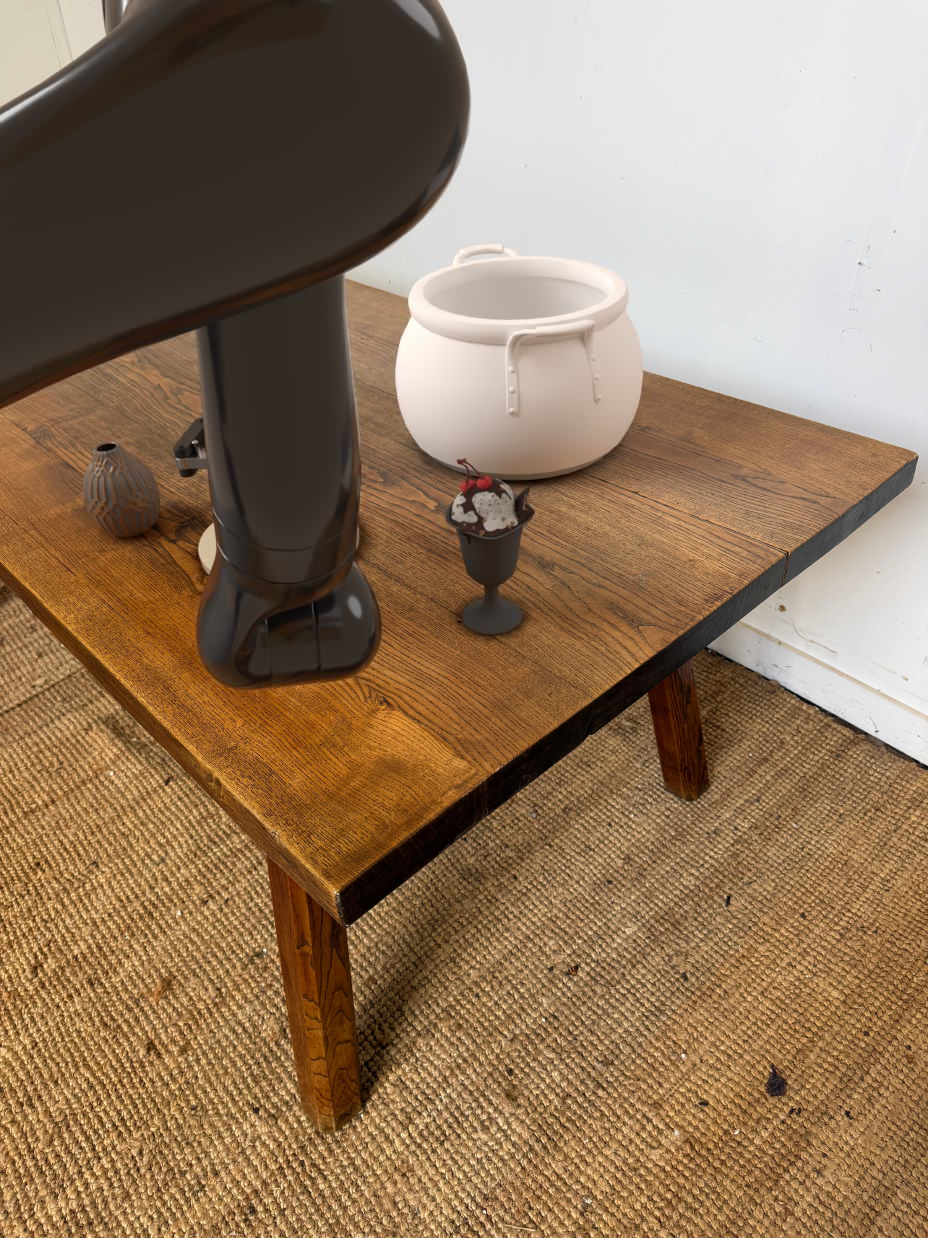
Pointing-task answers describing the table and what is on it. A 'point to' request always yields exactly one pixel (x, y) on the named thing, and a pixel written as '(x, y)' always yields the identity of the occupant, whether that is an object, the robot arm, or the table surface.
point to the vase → (120, 491)
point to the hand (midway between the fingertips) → (253, 402)
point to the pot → (518, 364)
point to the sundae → (489, 546)
